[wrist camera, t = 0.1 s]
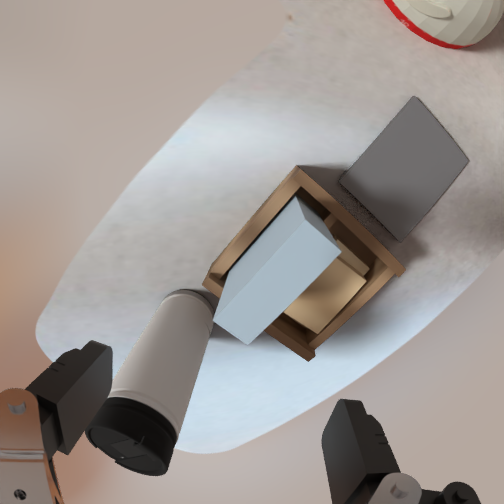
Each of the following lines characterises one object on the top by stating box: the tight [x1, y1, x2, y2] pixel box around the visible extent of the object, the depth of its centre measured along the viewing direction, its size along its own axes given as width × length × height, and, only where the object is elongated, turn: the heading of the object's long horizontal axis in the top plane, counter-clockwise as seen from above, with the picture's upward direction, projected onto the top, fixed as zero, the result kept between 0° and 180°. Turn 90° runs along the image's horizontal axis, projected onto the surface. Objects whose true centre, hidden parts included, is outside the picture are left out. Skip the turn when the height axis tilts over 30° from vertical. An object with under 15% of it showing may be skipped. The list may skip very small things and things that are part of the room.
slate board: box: [213, 193, 342, 345], centre depth 25 cm, size 9×3×11 cm, turn 141°
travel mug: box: [85, 290, 214, 476], centre depth 25 cm, size 6×7×20 cm
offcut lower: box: [333, 234, 369, 276], centre depth 30 cm, size 8×4×2 cm, turn 141°
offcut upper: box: [284, 256, 366, 334], centre depth 29 cm, size 7×4×2 cm, turn 145°
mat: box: [338, 96, 468, 243], centre depth 28 cm, size 12×9×1 cm
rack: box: [202, 165, 406, 362], centre depth 29 cm, size 13×13×5 cm
